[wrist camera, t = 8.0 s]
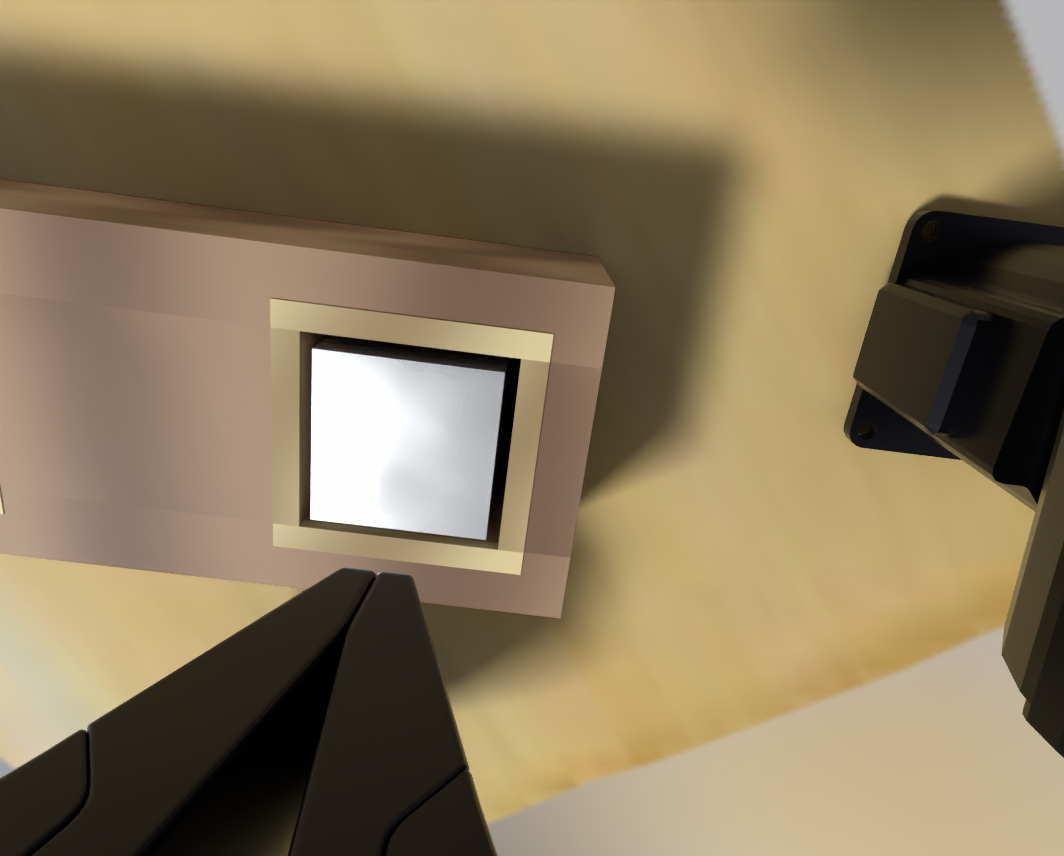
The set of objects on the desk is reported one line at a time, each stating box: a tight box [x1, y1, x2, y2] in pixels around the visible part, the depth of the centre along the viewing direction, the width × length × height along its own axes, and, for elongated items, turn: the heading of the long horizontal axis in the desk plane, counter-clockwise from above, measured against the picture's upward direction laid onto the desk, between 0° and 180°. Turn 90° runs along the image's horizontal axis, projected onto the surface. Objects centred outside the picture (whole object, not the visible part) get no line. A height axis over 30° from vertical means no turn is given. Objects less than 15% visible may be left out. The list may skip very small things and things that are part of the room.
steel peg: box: [310, 335, 511, 540], centre depth 17 cm, size 4×4×5 cm
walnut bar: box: [0, 179, 616, 618], centre depth 17 cm, size 20×8×5 cm, turn 83°
